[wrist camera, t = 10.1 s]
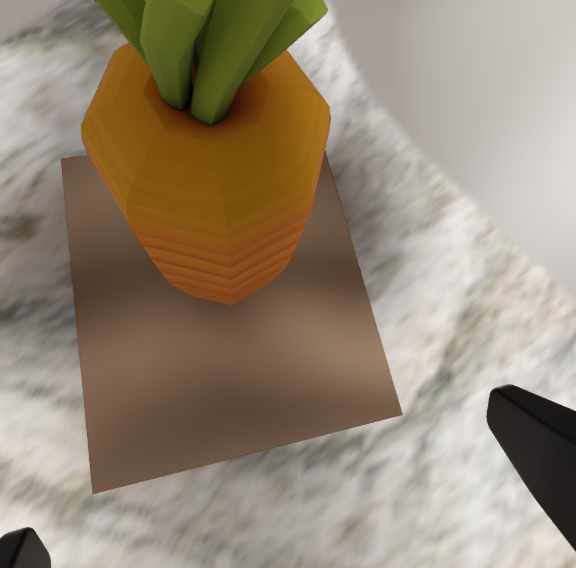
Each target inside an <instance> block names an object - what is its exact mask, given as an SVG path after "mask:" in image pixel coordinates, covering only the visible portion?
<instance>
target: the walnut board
mask: <svg viewBox="0 0 576 568" xmlns="http://www.w3.org/2000/svg"><path fill="white" fill-rule="evenodd" d="M61 164H62V174H63V185H64V196H65V206H66V217H67V227H68V238H69V249H70V259H71V270H72V280H73V291H74V302H75V312H76V323H77V333H78V344H79V355H80V365H81V376H82V386H83V397H84V408H85V418H86V429H87V439H88V450H89V461H90V471H91V482H92V492H93V494H95V493H99V492H103V491H107V490H111V489H115V488H119V487H123V486H126V485H130V484H134V483H138V482H142V481H146V480H150V479H154V478H158V477H162V476H166V475H169V474H173V473H177V472H181V471H185V470H189V469H193V468H197V467H201V466H205V465H209V464H212V463H216V462H220V461H224V460H228V459H232V458H236V457H240V456H244V455H248V454H252V453H256V452H259V451H263V450H267V449H271V448H275V447H279V446H283V445H287V444H291V443H295V442H299V441H302V440H306V439H310V438H314V437H318V436H322V435H326V434H330V433H334V432H338V431H342V430H345V429H349V428H353V427H357V426H361V425H365V424H369V423H373V422H377V421H381V420H385V419H389V418H392V417H396V416H400V415H403V414H402V411H401V408H400V404H399V401H398V397H397V394H396V391H395V387H394V384H393V380H392V377H391V374H390V370H389V367H388V363H387V360H386V357H385V353H384V350H383V346H382V343H381V339H380V336H379V333H378V329H377V326H376V322H375V319H374V316H373V312H372V309H371V305H370V302H369V299H368V295H367V292H366V288H365V285H364V282H363V278H362V275H361V271H360V268H359V265H358V261H357V258H356V254H355V251H354V247H353V244H352V241H351V237H350V234H349V230H348V227H347V224H346V220H345V217H344V213H343V210H342V207H341V203H340V200H339V196H338V193H337V190H336V186H335V183H334V179H333V176H332V172H331V169H330V166H329V162H328V159H327V155H326V152H325V151H324V156H323V160H322V164H321V169H320V173H319V178H318V182H317V186H316V191H315V195H314V200H313V204H312V208H311V211H310V213H309V216H308V218H307V221H306V224H305V226H304V229H303V231H302V234H301V236H300V239H299V242H298V244H297V246H296V248H295V250H294V252H293V254H292V256H291V259H290V261H289V263H288V265H287V267H286V268H285V269H284V270H283V271H282V272H281V273H280V274H279V275H278V276H277V277H276V278H275V279H274V280H273V281H271V282H270V283H269V284H268V285H266V286H265V287H263V288H262V289H260V290H258V291H256V292H255V293H253V294H251V295H249V296H248V297H246V298H244V299H242V300H241V301H239V302H237V303H235V304H234V305H232V306H231V305H227V304H223V303H219V302H215V301H210V300H206V299H202V298H198V297H194V296H191V295H189V294H187V293H185V292H183V291H181V290H179V289H178V288H176V287H175V286H173V285H172V284H170V283H169V282H168V281H167V280H166V278H165V277H164V276H163V274H162V273H161V272H160V270H159V269H158V268H157V266H156V265H155V264H154V262H153V261H152V260H151V258H150V257H149V255H148V253H147V252H146V250H145V249H144V247H143V246H142V244H141V243H140V241H139V239H138V238H137V236H136V235H135V233H134V232H133V230H132V229H131V227H130V225H129V224H128V222H127V220H126V218H125V217H124V215H123V213H122V212H121V210H120V208H119V206H118V205H117V203H116V201H115V199H114V198H113V196H112V194H111V193H110V191H109V189H108V187H107V186H106V184H105V182H104V181H103V179H102V177H101V175H100V174H99V172H98V170H97V169H96V167H95V165H94V163H93V162H92V160H91V158H90V156H89V155H86V156H78V157H70V158H62V159H61Z"/></svg>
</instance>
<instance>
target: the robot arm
mask: <svg viewBox="0 0 576 568" xmlns="http://www.w3.org/2000/svg"><path fill="white" fill-rule="evenodd" d="M486 418H487V423H488V426H489V428H490V430H491V431H492V433H493V435H494V436H495V438H496V439H497V441H498V442H499V444H500V446H501V447H502V449H503V450H504V452H505V453H506V455H507V457H508V458H509V460H510V461H511V463H512V464H513V466H514V468H515V469H516V471H517V472H518V474H519V475H520V477H521V479H522V480H523V482H524V483H525V485H526V486H527V488H528V489H529V491H530V492H531V494H532V495H533V497H534V498H535V499H536V501H537V502H538V503H539V505H540V506H541V507H542V509H543V510H544V511H545V512H546V514H547V515H548V516H549V518H550V519H551V520H552V522H553V523H554V524H555V525H556V527H557V528H558V529H559V531H560V532H561V533H562V534H563V536H564V537H565V538H566V540H567V541H568V542H569V544H570V545H571V546H572V547H573V549H574V550H575V551H576V411H574V410H572V409H570V408H567V407H565V406H562V405H560V404H558V403H555V402H553V401H551V400H548V399H546V398H543V397H541V396H539V395H536V394H534V393H531V392H529V391H527V390H524V389H522V388H519V387H517V386H514V385H511V384H508V385H503V386H500V387H497V388H494V389H492V391H491V392H490V396H489V402H488V409H487V416H486ZM0 568H51V559H50V555H49V553H48V551H47V549H46V548H45V546H44V545H43V543H42V541H41V540H40V538H39V537H38V535H37V534H36V532H35V531H34V529H32V528H30V527H26V528H22V529H19V530H16V531H12V532H9V533H7V534H5V535H3V536H2V537H1V538H0Z"/></svg>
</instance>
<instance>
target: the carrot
mask: <svg viewBox="0 0 576 568" xmlns="http://www.w3.org/2000/svg"><path fill="white" fill-rule="evenodd" d="M95 1H96V2H97V3H98V4H99V6H100V7H101V8H102V9H103V11H104V12H105V13H106V14H107V15H108V17H109V18H110V19H111V20H112V21H113V23H114V24H115V25H116V26H117V28H118V29H119V30H120V31H121V33H122V34H123V35H124V36H125V38H126V39H127V40H128V41H129V43H128V44H125V45H123V46H122V47H120V48H119V49H117V50H115V51H114V53H113V56H112V58H111V60H110V62H109V64H108V67H107V69H106V71H105V73H104V75H103V78H102V80H101V82H100V84H99V86H98V89H97V91H96V93H95V95H94V97H93V100H92V102H91V104H90V106H89V108H88V111H87V113H86V115H85V117H84V119H83V122H82V124H81V134H82V141H83V143H84V146H85V149H86V151H87V153H88V155H89V156H90V158H91V160H92V162H93V163H94V165H95V167H96V169H97V170H98V172H99V174H100V175H101V177H102V179H103V181H104V182H105V184H106V186H107V187H108V189H109V191H110V193H111V194H112V196H113V198H114V199H115V201H116V203H117V205H118V206H119V208H120V210H121V212H122V213H123V215H124V217H125V218H126V220H127V222H128V224H129V225H130V227H131V229H132V230H133V232H134V233H135V235H136V236H137V238H138V239H139V241H140V243H141V244H142V246H143V247H144V249H145V250H146V252H147V253H148V255H149V257H150V258H151V260H152V261H153V262H154V264H155V265H156V266H157V268H158V269H159V270H160V272H161V273H162V274H163V276H164V277H165V278H166V280H167V281H168V282H169V283H170V284H172V285H173V286H175V287H176V288H178V289H179V290H181V291H183V292H185V293H187V294H189V295H191V296H194V297H198V298H202V299H206V300H210V301H215V302H219V303H223V304H227V305H231V306H232V305H234V304H235V303H237V302H239V301H241V300H242V299H244V298H246V297H248V296H249V295H251V294H253V293H255V292H256V291H258V290H260V289H262V288H263V287H265V286H266V285H268V284H269V283H270V282H271V281H273V280H274V279H275V278H276V277H277V276H278V275H279V274H280V273H281V272H282V271H283V270H284V269H285V268H286V267H287V265H288V263H289V261H290V259H291V256H292V254H293V252H294V250H295V248H296V246H297V244H298V242H299V239H300V236H301V234H302V231H303V229H304V226H305V224H306V221H307V218H308V216H309V213H310V211H311V208H312V204H313V200H314V195H315V191H316V186H317V182H318V178H319V173H320V169H321V164H322V160H323V156H324V151H325V147H326V142H327V138H328V134H329V128H330V122H331V116H330V108H329V105H328V104H327V103H326V101H325V100H324V99H323V97H322V96H321V95H320V93H319V92H318V91H317V89H316V88H315V87H314V85H313V84H312V83H311V81H310V80H309V79H308V77H307V76H306V75H305V73H304V72H303V71H302V69H301V68H300V67H299V65H298V64H297V63H296V61H295V60H294V59H293V57H292V56H291V55H290V53H289V52H288V51H287V48H288V47H289V46H291V45H292V44H293V43H294V42H295V41H296V40H297V39H298V38H300V37H301V36H302V35H303V34H304V33H305V32H306V31H308V30H309V29H310V28H311V27H312V26H313V25H314V24H315V23H317V22H318V21H319V20H320V19H321V18H322V17H323V16H324V15H326V13H327V11H328V8H327V7H326V5H325V3H324V1H323V0H146V1H145V0H95Z"/></svg>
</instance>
